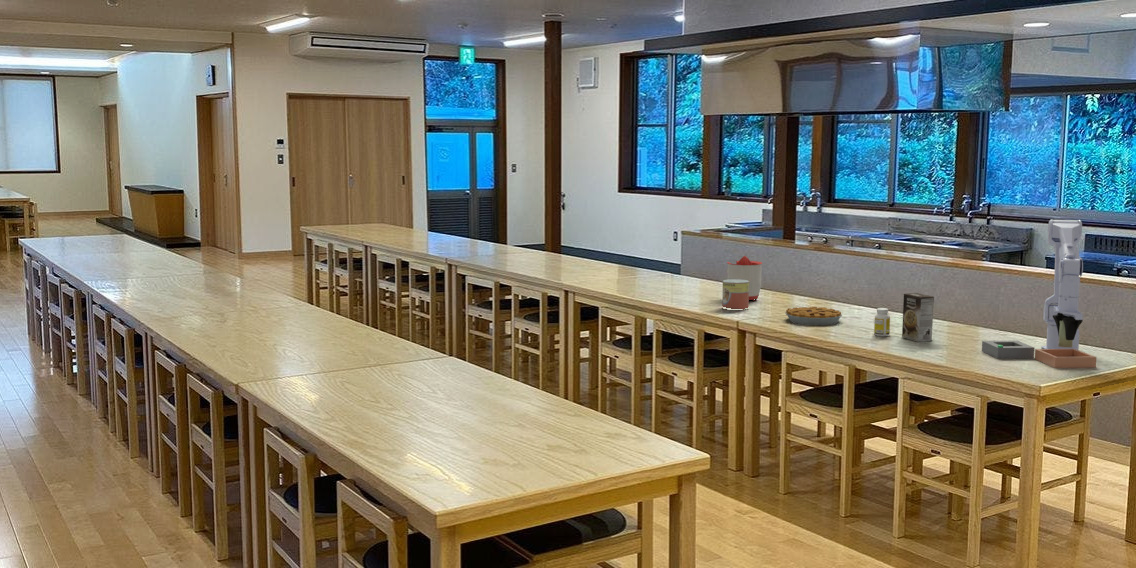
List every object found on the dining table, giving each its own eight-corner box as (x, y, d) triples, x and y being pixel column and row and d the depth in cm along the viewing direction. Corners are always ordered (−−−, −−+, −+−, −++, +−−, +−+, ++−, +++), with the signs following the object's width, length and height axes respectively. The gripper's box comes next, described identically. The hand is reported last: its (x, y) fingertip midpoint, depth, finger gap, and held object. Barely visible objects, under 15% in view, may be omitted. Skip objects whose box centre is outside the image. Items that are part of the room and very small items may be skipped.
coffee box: (901, 337, 365) (902, 293, 363) (915, 336, 368) (917, 292, 365) (918, 342, 357) (919, 296, 355) (932, 340, 359) (934, 295, 357)
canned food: (716, 307, 434) (717, 280, 432) (738, 305, 439) (739, 278, 437) (731, 311, 424) (732, 283, 422) (754, 309, 429) (754, 281, 427)
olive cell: (1068, 344, 323) (1070, 318, 321) (1074, 347, 319) (1076, 320, 317) (1056, 344, 322) (1057, 318, 321) (1062, 347, 319) (1064, 320, 317)
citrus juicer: (739, 295, 468) (739, 252, 465) (768, 299, 455) (769, 255, 452) (716, 299, 458) (717, 255, 455) (746, 303, 445) (747, 258, 442)
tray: (1074, 358, 328) (1074, 348, 327) (1095, 367, 315) (1096, 357, 315) (1034, 359, 328) (1035, 349, 327) (1054, 367, 315) (1055, 357, 314)
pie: (793, 326, 389) (793, 314, 388) (779, 317, 411) (779, 305, 410) (849, 326, 390) (849, 313, 389) (832, 316, 411) (832, 304, 411)
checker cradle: (1016, 350, 341) (1017, 338, 340) (1033, 358, 329) (1034, 345, 329) (981, 351, 341) (982, 339, 340) (997, 358, 329) (998, 346, 328)
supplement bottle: (886, 333, 373) (887, 307, 371) (891, 336, 367) (892, 309, 366) (871, 333, 372) (872, 307, 371) (876, 336, 367) (877, 310, 366)
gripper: (1045, 293, 325) (1042, 334, 327) (1068, 299, 311) (1065, 343, 313) (1066, 292, 326) (1064, 334, 327) (1090, 299, 311) (1087, 342, 313)
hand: (1066, 338), depth 320 cm, fingers closed on olive cell, 4 cm apart
